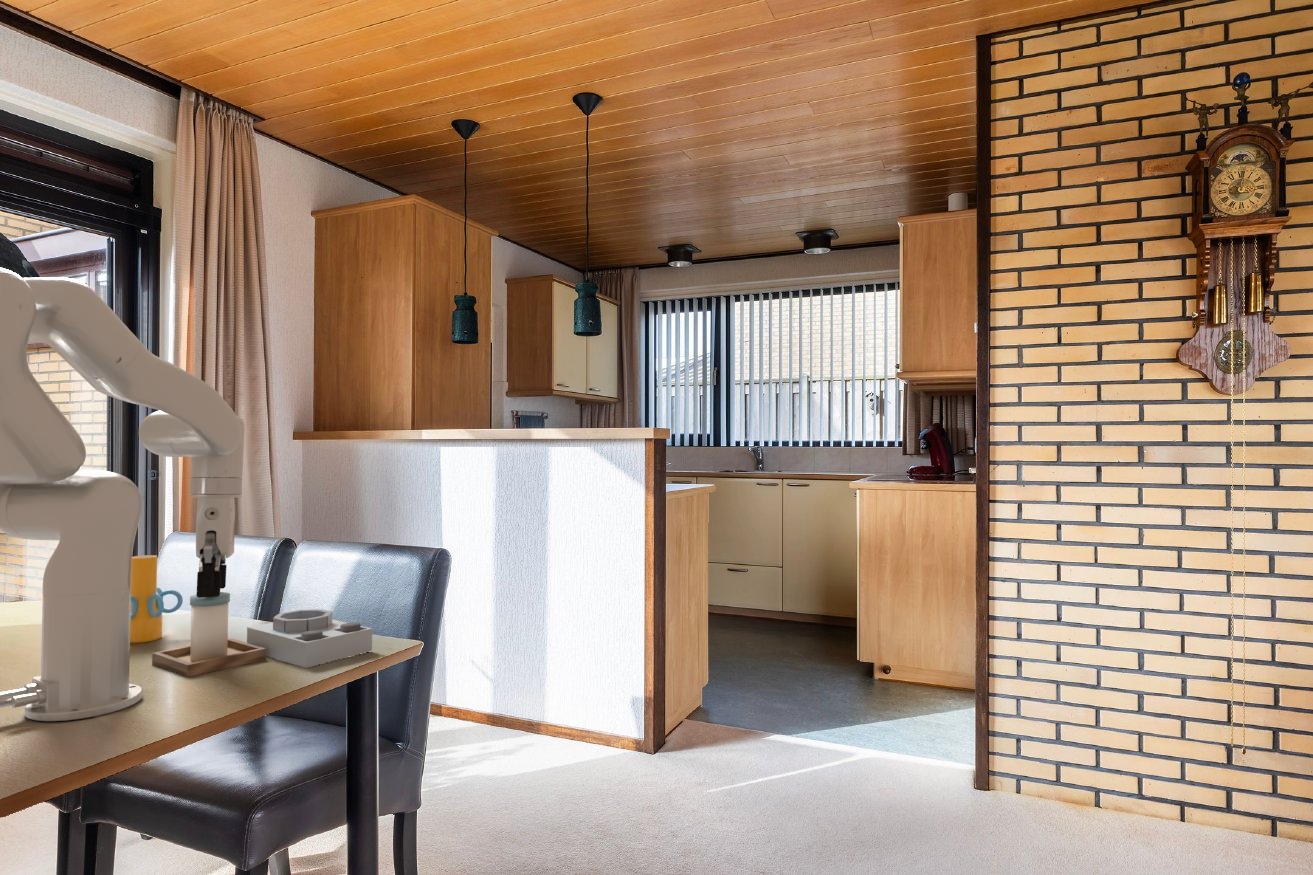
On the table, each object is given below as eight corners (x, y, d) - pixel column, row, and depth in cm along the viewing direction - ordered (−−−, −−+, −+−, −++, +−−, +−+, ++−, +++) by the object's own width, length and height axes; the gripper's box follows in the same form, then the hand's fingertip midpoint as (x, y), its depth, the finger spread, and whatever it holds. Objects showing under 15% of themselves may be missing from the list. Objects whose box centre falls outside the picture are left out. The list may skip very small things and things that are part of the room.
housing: (305, 667, 119) (306, 630, 119) (246, 650, 129) (247, 615, 130) (371, 651, 129) (372, 616, 129) (312, 636, 139) (312, 604, 139)
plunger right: (347, 648, 126) (347, 627, 126) (336, 645, 128) (336, 625, 128) (364, 644, 129) (364, 624, 129) (353, 641, 131) (353, 621, 131)
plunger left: (307, 657, 121) (308, 636, 121) (296, 654, 122) (297, 633, 122) (326, 653, 123) (326, 632, 123) (315, 650, 125) (315, 629, 125)
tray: (187, 676, 114) (187, 665, 114) (152, 663, 121) (152, 652, 121) (265, 659, 124) (266, 648, 124) (229, 648, 131) (229, 637, 131)
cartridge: (227, 660, 121) (228, 592, 121) (186, 664, 119) (188, 595, 119) (229, 652, 126) (231, 587, 126) (190, 655, 124) (192, 589, 124)
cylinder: (91, 641, 135) (93, 557, 135) (153, 629, 144) (154, 551, 144) (129, 650, 129) (131, 562, 129) (191, 637, 138) (192, 555, 139)
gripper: (238, 489, 119) (233, 599, 118) (245, 488, 134) (241, 584, 133) (182, 489, 116) (177, 601, 115) (196, 487, 131) (191, 586, 130)
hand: (211, 592), depth 124 cm, fingers open, 9 cm apart
